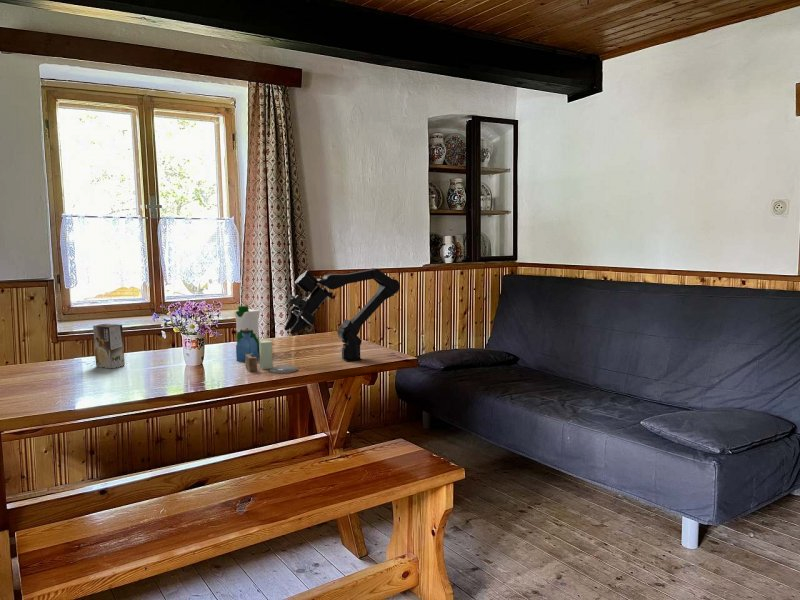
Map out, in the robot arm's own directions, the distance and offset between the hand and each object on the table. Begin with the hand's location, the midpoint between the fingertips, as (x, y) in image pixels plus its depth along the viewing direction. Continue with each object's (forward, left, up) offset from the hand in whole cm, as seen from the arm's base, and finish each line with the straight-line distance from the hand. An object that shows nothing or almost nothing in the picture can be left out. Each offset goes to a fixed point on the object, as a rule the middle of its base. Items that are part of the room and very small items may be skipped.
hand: (287, 331), depth 233 cm
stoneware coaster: (+4, +7, -13) cm, 15 cm away
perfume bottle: (+13, -18, -13) cm, 26 cm away
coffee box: (+63, -28, -13) cm, 70 cm away
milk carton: (+10, -32, -13) cm, 36 cm away
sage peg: (+9, 0, -13) cm, 16 cm away
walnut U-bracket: (+14, 0, -13) cm, 19 cm away
